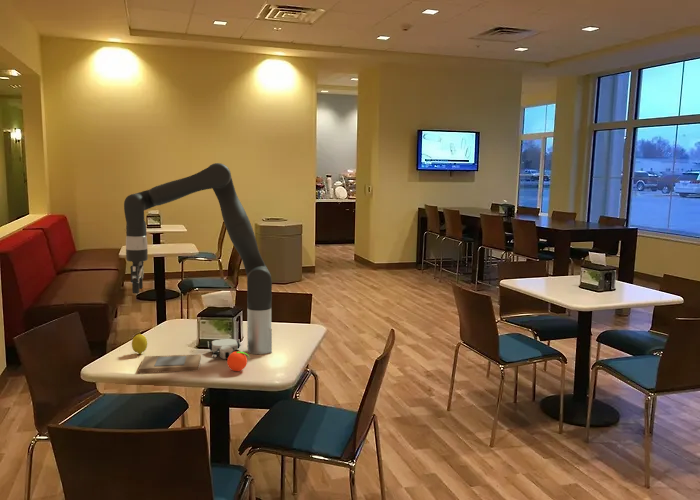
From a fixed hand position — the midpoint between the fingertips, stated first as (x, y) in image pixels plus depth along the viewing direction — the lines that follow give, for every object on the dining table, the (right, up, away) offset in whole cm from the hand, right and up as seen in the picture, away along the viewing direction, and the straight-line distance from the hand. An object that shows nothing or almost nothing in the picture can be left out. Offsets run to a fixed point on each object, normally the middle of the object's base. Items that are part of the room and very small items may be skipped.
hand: (137, 290), depth 222 cm
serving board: (+15, -26, -8) cm, 31 cm away
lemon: (-1, -25, +4) cm, 25 cm away
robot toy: (+32, -25, +5) cm, 41 cm away
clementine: (+40, -28, -12) cm, 50 cm away
